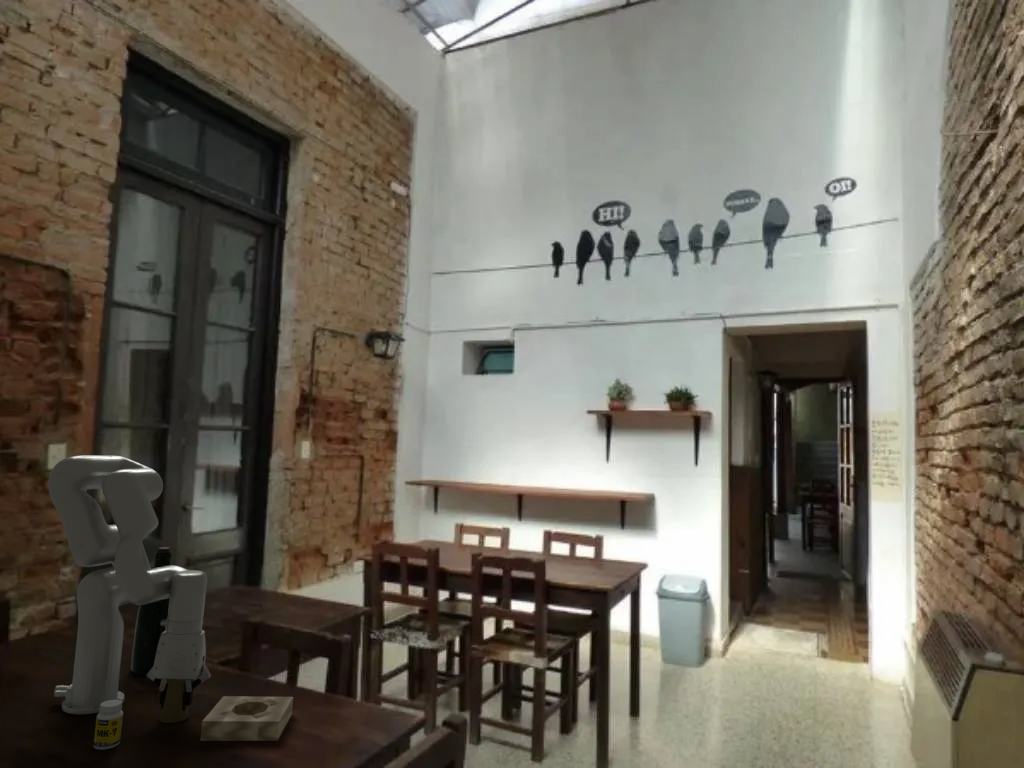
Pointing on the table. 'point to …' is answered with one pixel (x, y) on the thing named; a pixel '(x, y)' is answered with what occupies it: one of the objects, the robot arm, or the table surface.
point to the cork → (174, 702)
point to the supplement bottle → (108, 725)
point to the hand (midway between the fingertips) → (175, 706)
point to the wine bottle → (150, 623)
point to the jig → (247, 719)
